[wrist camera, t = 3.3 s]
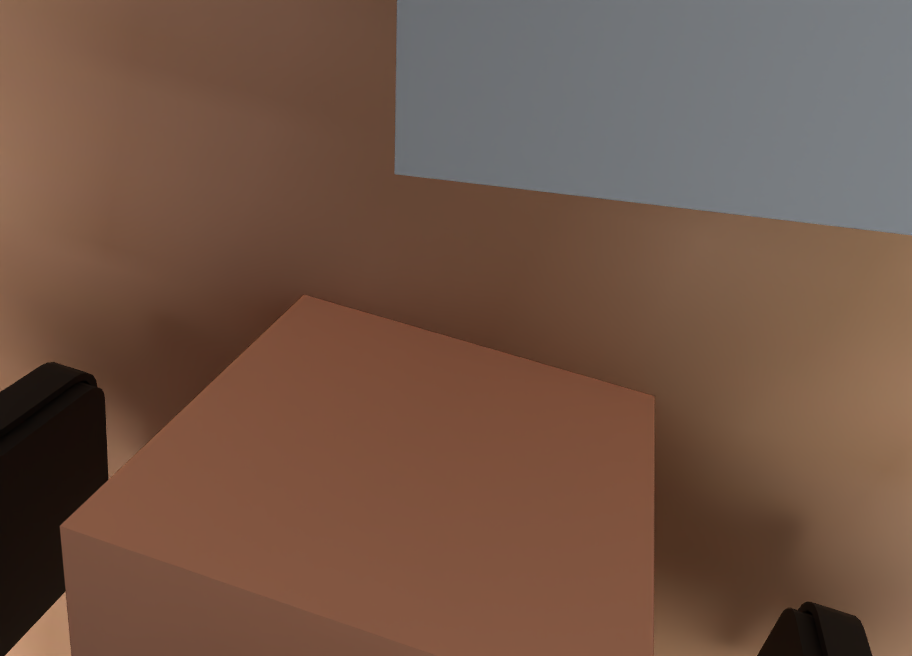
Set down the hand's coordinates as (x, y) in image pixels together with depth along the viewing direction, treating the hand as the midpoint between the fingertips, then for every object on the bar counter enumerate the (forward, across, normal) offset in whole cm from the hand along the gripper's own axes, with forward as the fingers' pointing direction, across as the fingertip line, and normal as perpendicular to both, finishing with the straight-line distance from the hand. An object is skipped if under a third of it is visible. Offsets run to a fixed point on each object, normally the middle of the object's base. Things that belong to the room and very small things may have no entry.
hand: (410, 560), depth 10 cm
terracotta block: (+2, 0, 0) cm, 2 cm away
